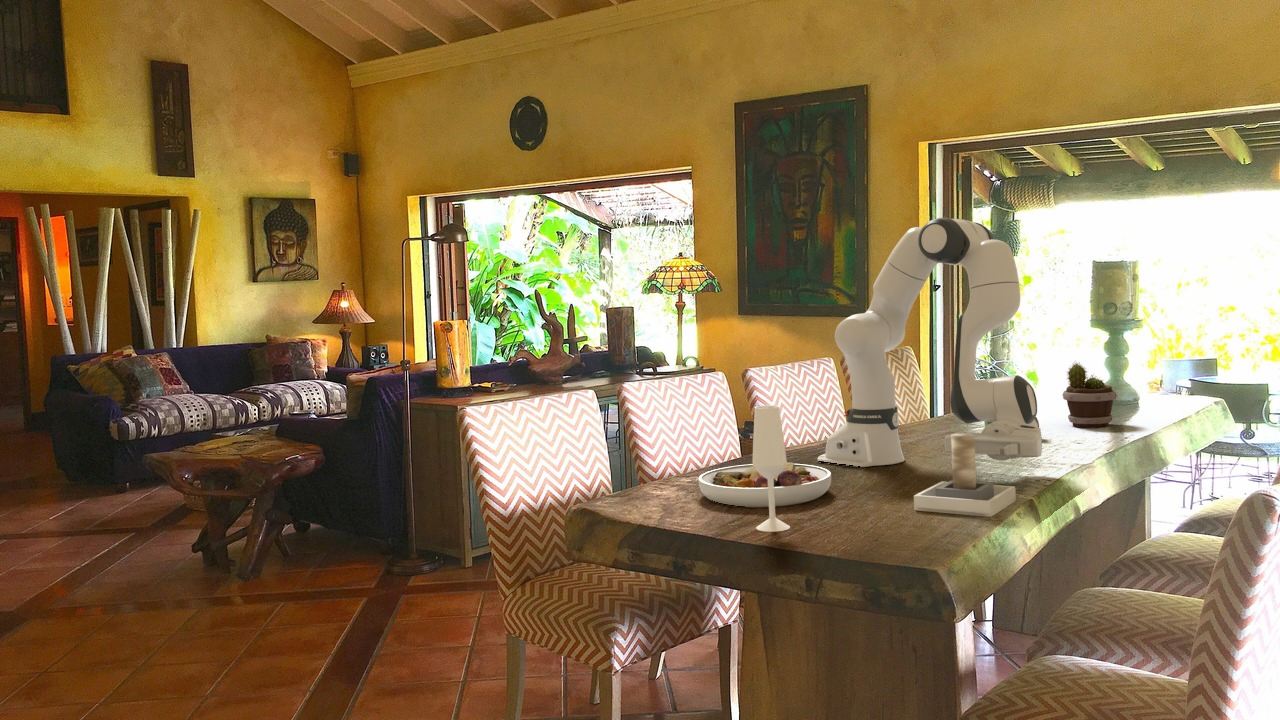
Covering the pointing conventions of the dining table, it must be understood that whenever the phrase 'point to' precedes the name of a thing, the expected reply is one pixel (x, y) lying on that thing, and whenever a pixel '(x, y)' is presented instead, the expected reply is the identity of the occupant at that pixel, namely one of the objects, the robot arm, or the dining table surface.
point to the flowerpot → (1088, 399)
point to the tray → (965, 499)
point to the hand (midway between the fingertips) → (980, 450)
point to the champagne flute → (769, 457)
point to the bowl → (764, 485)
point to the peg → (963, 461)
